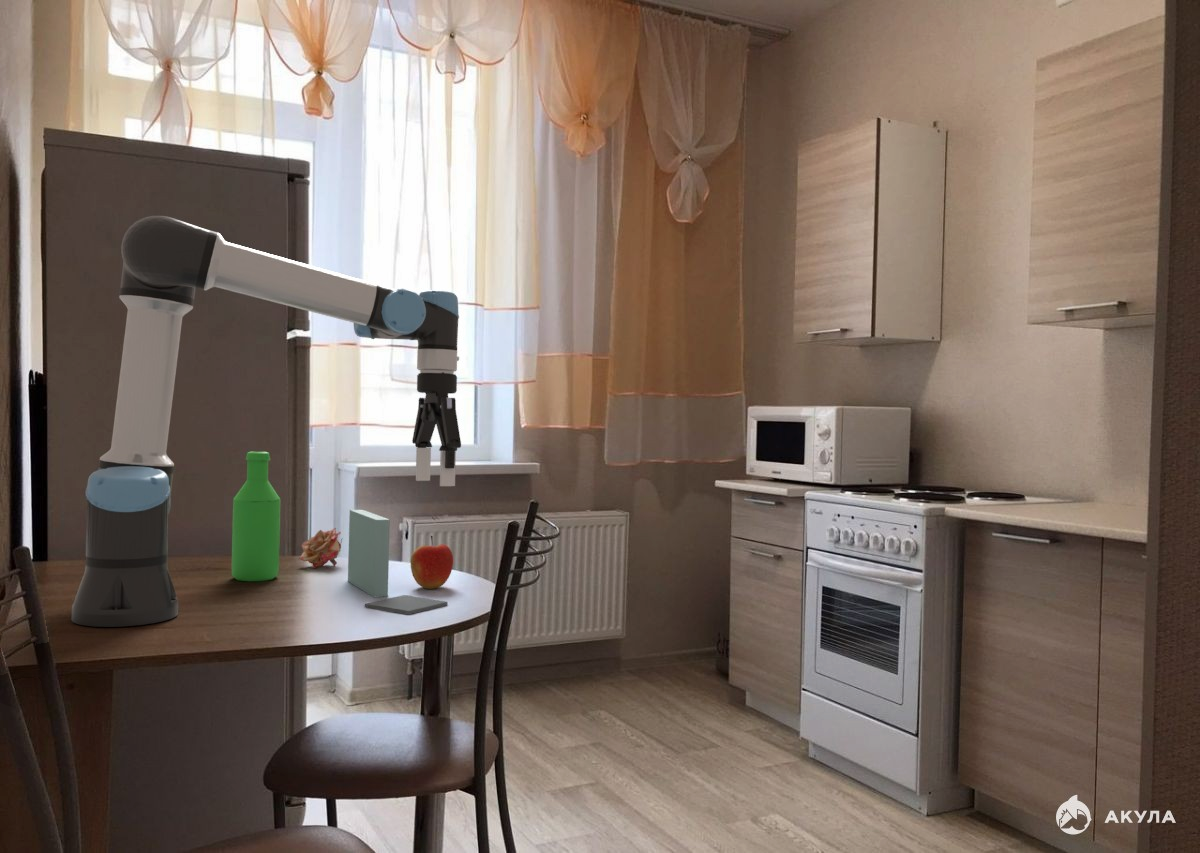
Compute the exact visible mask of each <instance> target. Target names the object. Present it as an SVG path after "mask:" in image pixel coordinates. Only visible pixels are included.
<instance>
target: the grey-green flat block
mask: <svg viewBox="0 0 1200 853" xmlns="http://www.w3.org/2000/svg"><path fill="white" fill-rule="evenodd" d="M348 517H349V522H348V523H349V524H348V526H349V528H348V556H347V557H348V562H347V568H348V569H347V582H349V583H351V584H352V585H354V586H355V587H358V589H360V590H362V591H363V592H366V593H367V594H368V595H369V596H372V597H374V598H382V597H383V596H384V597H389V568H390V567H389V564H390V562H389V561H390V528H391V525H390V522H391V520H390V519H389V518H386V517H384V516H381V515H379V514H376V513H373V512H370V511H368V510H364V509H349V516H348Z"/></svg>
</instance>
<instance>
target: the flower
mask: <svg viewBox="0 0 1200 853" xmlns="http://www.w3.org/2000/svg"><path fill="white" fill-rule="evenodd" d="M336 529H337V528H336V527H334V528H333V529H331V530H327V531H323V530H322V529H319V530H318V531H317V533H316V534H315V535H314V536H311V537H309V539H307V540H304V541H303V542H302V543H301V548H302V550H303V551H302V553H301V555H300V557H299V559H300V560H301V561H303V562H308V563H309V564H310V565H311V567H312V568H313V569H317V568H321V567H323V566H324V565H326V564H327V563H328V562H330V563H331V564H332V565H333V566H336V565H337V563H338V562H337V561H336V560H335V559H337V558H338V556H339V554H340V552H341V550H342V549H341V548H342V542H343V538H344V537H342V538H341V540H340V542H339V540H338V536H339V535H340V534H342V532H341V531H339V532H337V531H336Z"/></svg>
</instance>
